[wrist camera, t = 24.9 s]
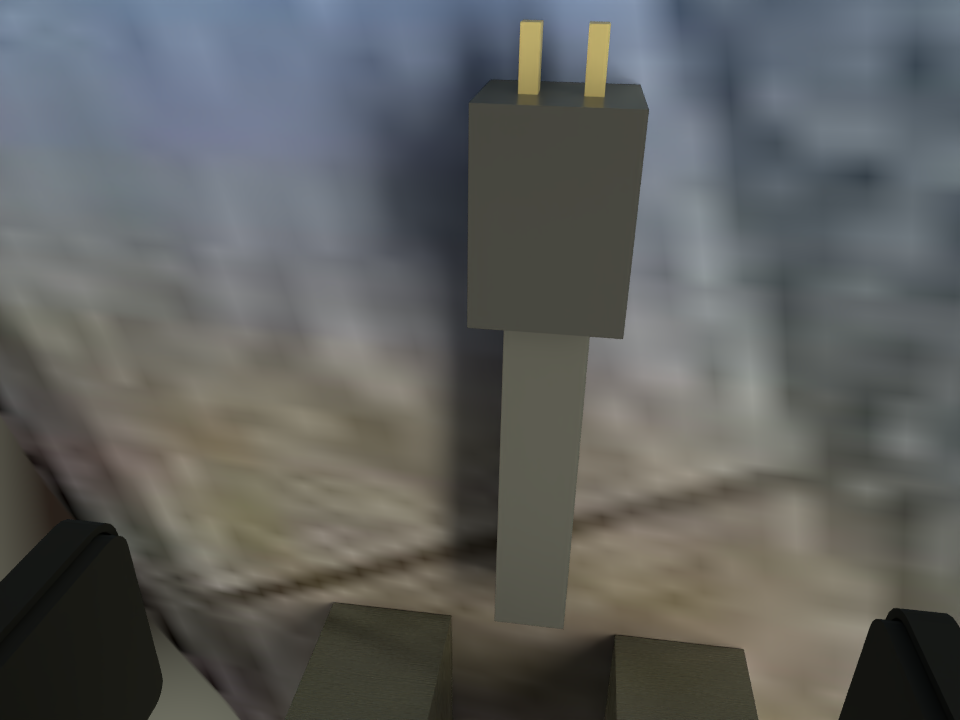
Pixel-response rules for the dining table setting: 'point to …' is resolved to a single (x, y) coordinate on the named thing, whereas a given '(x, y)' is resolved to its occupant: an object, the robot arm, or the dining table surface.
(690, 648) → the grey boxy piece
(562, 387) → the plug
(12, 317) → the dining table surface
